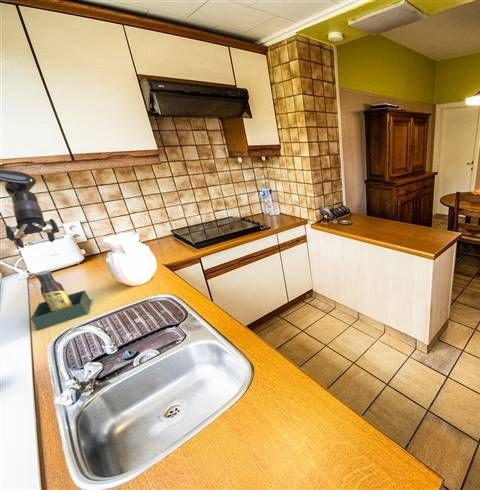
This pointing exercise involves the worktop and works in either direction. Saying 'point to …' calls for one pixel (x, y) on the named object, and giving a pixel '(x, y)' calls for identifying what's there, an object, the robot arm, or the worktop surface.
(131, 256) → the pitcher
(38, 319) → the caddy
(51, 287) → the sauce bottle
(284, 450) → the worktop surface
